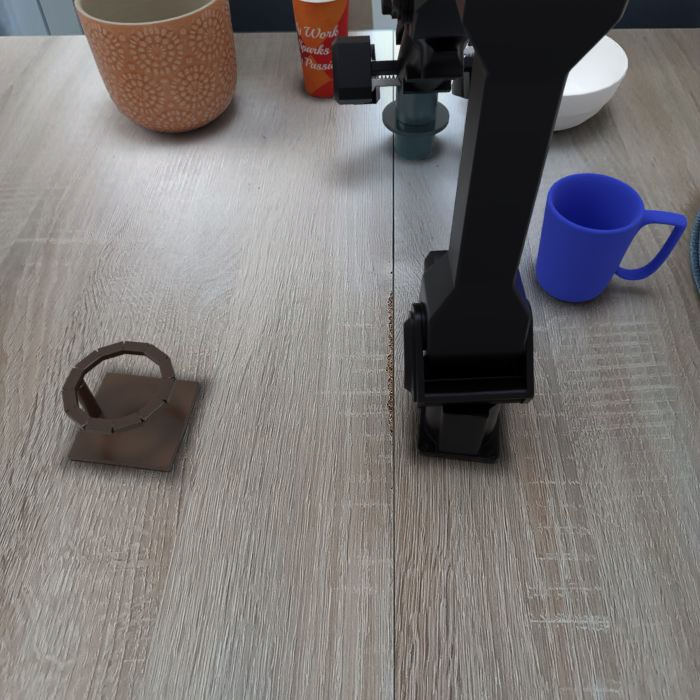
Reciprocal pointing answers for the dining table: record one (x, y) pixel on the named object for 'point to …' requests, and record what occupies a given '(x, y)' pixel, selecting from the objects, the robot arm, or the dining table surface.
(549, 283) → the mug
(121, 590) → the dining table surface
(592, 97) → the bowl
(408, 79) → the robot arm
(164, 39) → the planter
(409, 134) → the blue-grey flanged cylinder
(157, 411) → the cup holder
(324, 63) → the paper cup
